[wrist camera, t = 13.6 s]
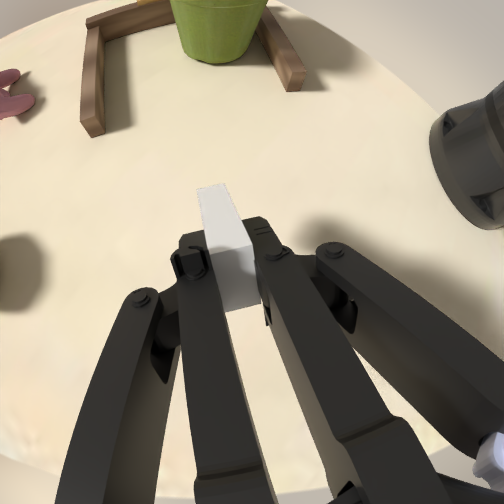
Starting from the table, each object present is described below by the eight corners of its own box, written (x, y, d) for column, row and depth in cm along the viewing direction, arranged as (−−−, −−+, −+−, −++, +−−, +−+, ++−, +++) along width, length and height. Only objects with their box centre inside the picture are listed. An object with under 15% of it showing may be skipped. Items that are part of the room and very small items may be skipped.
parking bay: (299, 90, 27) (311, 58, 22) (91, 137, 24) (72, 110, 19) (252, 6, 29) (256, -21, 25) (94, 39, 26) (84, 14, 22)
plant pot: (214, 96, 25) (217, -3, 14) (142, 50, 26) (129, -30, 15) (291, 50, 28) (315, -28, 17) (219, 11, 29) (224, -58, 18)
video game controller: (6, 97, 26) (-31, 89, 19) (22, 69, 25) (-16, 58, 18) (22, 131, 25) (-23, 125, 18) (39, 99, 24) (-7, 88, 17)
